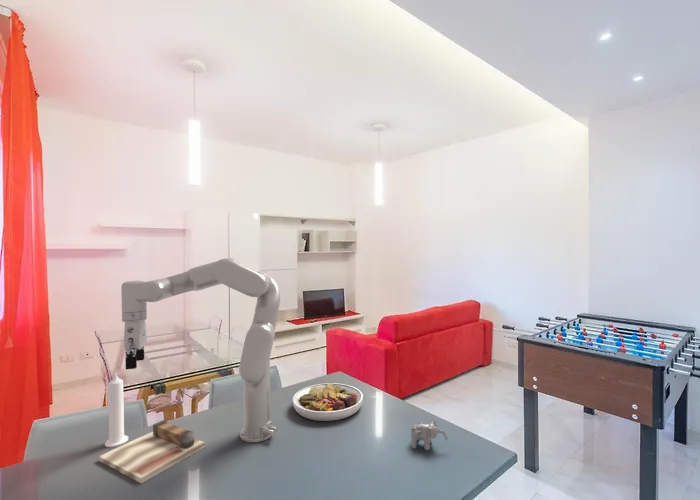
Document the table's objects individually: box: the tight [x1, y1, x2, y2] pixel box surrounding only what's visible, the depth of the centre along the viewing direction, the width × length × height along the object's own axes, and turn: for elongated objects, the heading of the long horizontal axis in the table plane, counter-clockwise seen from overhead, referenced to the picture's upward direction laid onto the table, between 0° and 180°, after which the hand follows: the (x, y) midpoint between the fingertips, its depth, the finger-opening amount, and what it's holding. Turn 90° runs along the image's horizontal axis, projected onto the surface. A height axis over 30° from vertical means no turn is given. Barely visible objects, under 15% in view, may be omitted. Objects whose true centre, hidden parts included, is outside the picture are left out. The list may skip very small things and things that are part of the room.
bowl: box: [292, 382, 364, 422], centre depth 153 cm, size 30×30×8 cm
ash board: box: [98, 430, 206, 484], centre depth 120 cm, size 24×22×2 cm
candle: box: [104, 372, 129, 448], centre depth 127 cm, size 7×7×25 cm
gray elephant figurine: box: [410, 420, 449, 451], centre depth 122 cm, size 9×12×8 cm
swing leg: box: [152, 420, 195, 448], centre depth 125 cm, size 19×4×4 cm, turn 60°
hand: (135, 364), depth 125 cm, fingers open, 9 cm apart
